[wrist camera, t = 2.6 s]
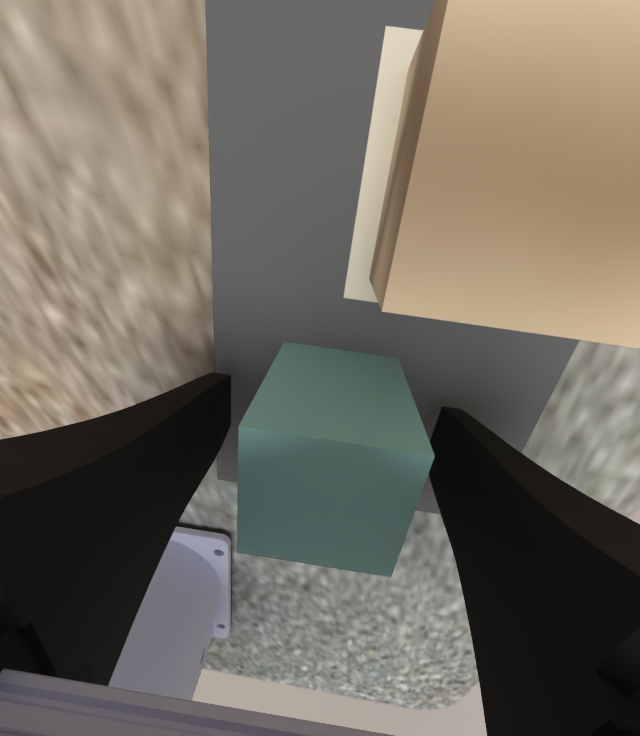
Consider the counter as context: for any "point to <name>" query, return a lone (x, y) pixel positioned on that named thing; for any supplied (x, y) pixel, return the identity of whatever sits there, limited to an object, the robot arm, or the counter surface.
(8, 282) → the counter surface
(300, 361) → the teal block
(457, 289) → the maple block
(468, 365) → the mat
